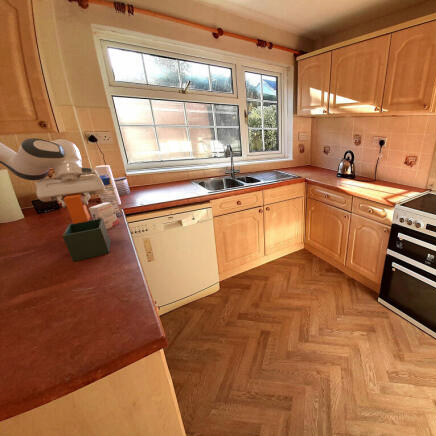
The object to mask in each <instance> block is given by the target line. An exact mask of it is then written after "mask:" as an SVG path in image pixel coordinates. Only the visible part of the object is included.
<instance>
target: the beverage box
mask: <svg viewBox="0 0 436 436" xmlns="http://www.w3.org/2000/svg"><path fill="white" fill-rule="evenodd" d="M99 177H100V178H101V180H102V182H103V184H104V186H105V189H106V191H105V193H102V194H98V196H99V199H100V201H101V204H102V203H107V202H109V203H112V206H113V209H114V211H115V214H116V217H117V218H118V217H122V216H123V215H122V212H121V209H120V205H118V202H117V199H116V196H115V192H114V189H113V186H112V183H111V180H110V177H109V175H103V176H99Z"/></svg>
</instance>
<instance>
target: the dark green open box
mask: <svg viewBox="0 0 436 436" xmlns="http://www.w3.org/2000/svg"><path fill="white" fill-rule="evenodd" d="M62 238H63V241H64V244H65V246H66V248H67V250H68V254H69V255H70V258H71V260H72V262H73V263H74V262H78V261H82V260H86V259H90V258H95V257H99V256H103V255H107V254H110V250H111V241H112V240H111V238H110V235H109V232H108V229H106V226H105V223H104V220H103V218H101V219H95V220H93V219H89V221H86V222H81V223H76V224H74V223H70V224H68V225H67V226H66V228H65V230H64V232H63V234H62Z"/></svg>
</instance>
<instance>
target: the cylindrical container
mask: <svg viewBox="0 0 436 436" xmlns="http://www.w3.org/2000/svg"><path fill="white" fill-rule="evenodd" d="M94 169H95V170H96V171H97V173H98V175H99V176H103V175H109V177H110V180H111V183H112V186H113V189H114V192H115V196H116V199H117V202H118V205H119V206H120V205H122V201H121V198H120V196H119V195H118V191H117V188H116V185H115V182H114V179H115V178H114V176H113V172H112V169H111V166H110V165H109V164H103V165H96V166H95V168H94Z"/></svg>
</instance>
